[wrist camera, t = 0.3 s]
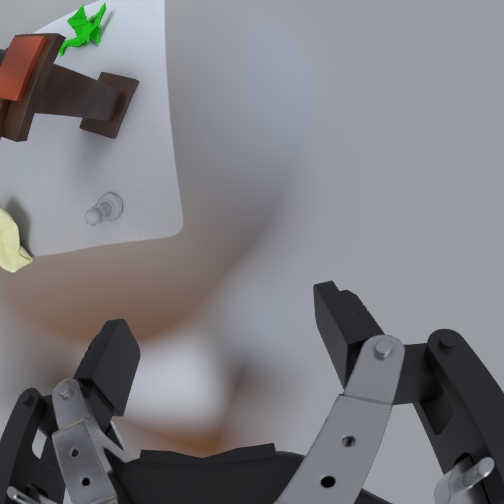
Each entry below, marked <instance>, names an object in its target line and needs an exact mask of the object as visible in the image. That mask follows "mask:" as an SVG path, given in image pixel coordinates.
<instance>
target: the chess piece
mask: <svg viewBox="0 0 504 504" xmlns="http://www.w3.org/2000/svg"><path fill="white" fill-rule="evenodd" d="M121 213H122V202H121V200H120V198H119V197H118V196H117V195H115V194H113V193H106V194H104V195H103V196H102V197H101V198H100V199H99V200H98V202H97V205H95V206H93V207H92V208H91V209H89V210H88V211H87V212H86V214H85V221H86V223H87V224H89V225H91V226H94V225H96V224H98V223H101V222H102V221H103V220H105V221H112V220H116V219H117V218H118V217H119V216H120V215H121Z"/></svg>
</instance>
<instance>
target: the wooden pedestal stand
mask: <svg viewBox="0 0 504 504" xmlns="http://www.w3.org/2000/svg"><path fill="white" fill-rule="evenodd" d="M30 36H44V37H47V38H48V39H47V41H46V43H45V45H44V47H43V49H42V51H41V53H40V55H39V58H38V60H37V62H36V64H35V67H34V69H33V71H32V74H31V76H30V79H29V81H28V84H27V87H26V89H25V92H24V95H23V98H22V101H13V100H11V102H10V105H9V108H8V112H7V115H6V119H5V123H4V126H3V130H2V135H1V137H4V138H7V139H10V140H13V141H16V142H20V141H27V137H28V133H29V130H30V126H31V123H32V119H33V116H34V113H40V114H53V115H64V116H73V117H82V118H83V119H82V122H81V125H80V127H79V128H80V129H83V130H87V131H90V132H93V133H97V134H100V135H103V136H106V137H110V138H116V136H117V133H118V131H119V128H120V125H121V123H122V120H123V118H124V115H125V113H126V110H127V108H128V105H129V103H130V101H131V98H132V96H133V94H134V92H135V89H136V87H137V85H138V83H139V81H138V80H136V79H132V78H128V77H124V76H119V75H115V74H110V73H105V72H101V74H100V77H99V79H98V81H97V80H95V79H92V78H90V77H87V76H85V75H82V74H80V73H77V72H75V71H72V70H69V69H67V68H64V67H61V66H59V65H56V64H53V63H54V61H55V59H56V57H57V55H58V53H59V51H60V49H61V47H62V45H63V43H64V41H65V39H66V37H64V36H62V35H60V34H58V33H43V34H23V35H15V37H30ZM15 37H14V38H15Z"/></svg>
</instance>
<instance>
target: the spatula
mask: <svg viewBox="0 0 504 504" xmlns="http://www.w3.org/2000/svg"><path fill="white" fill-rule="evenodd" d="M47 39H48V38H47V37H44V36H30V37H15V38H13V40H12V42H11V44H10V46H9V48H8V50H7V52H6V55H5V57H4V59H3V62H2V64H1V66H0V139H1V135H2V130H3V126H4V123H5V119H6V115H7V112H8V108H9V105H10V102H11V100H13V101H22V98H23V95H24V92H25V89H26V87H27V84H28V81H29V79H30V76H31V74H32V71H33V69H34V67H35V64H36V62H37V60H38V58H39V55H40V53H41V51H42V49H43V47H44V45H45V43H46V41H47Z"/></svg>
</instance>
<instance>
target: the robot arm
mask: <svg viewBox="0 0 504 504" xmlns="http://www.w3.org/2000/svg"><path fill="white" fill-rule="evenodd" d="M8 48H9V47H8ZM8 48H7V49H6V50H2V49H0V66H1V64H2V62H3V59H4V57H5V55H6V52H7V50H8ZM313 289H314V304H315V318H316V323H317V327H318V330H319V332H320V335H321V337H322V339H323V341H324V344H325V346H326V348H327V351H328V353H329V355H330V357H331V360H332V363H333V365H334V367H335V369H336V372H337V374H338V377H339V379H340V381H341V384H342V386H343V389H345V390H344V392H343V394H339V396H338V397H337V399H336V400H335V403H334V404H333V407H332V409H331V411H330V413H329V415H328V417H327V418H326V420H325V422H324V424H323V426H322V428H321V430H320V432H319V434H318V436H317V437H316V439H315V441H314V443H313V445H312V446H311V448H310V450H309V451H308V453H307V455H306V456H304V455H301V454H296V453H293V452H286V451H276V449H275V446H274V443H270V444H264V445H257V446H250V447H242V448H236V449H233V450H230V451H227V452H224V453H220V454H217V455H213V456H210V457H206V458H199V457H194V456H189V455H184V454H180V453H176V452H172V451H155V450H141V454H140V458H138V459H135V460H134V459H133V458H132V456H131V455H130V453H129V451H128V450H127V448H126V446H125V444H124V442H123V441H122V438H121V437H120V435H119V433H118V431H117V429H116V427H115V425H114V423H113V422H112V421H111V418H112V416H123V415H124V411H125V407H126V404H127V400H128V396H129V393H130V390H131V386H132V383H133V380H134V376H135V373H136V370H137V366H138V363H139V360H140V349H139V346H138V344H137V342H136V340H135V338H134V336H133V334H132V332H131V331H130V329H129V327H128V325H127V323H126V321H125V320H124V319H116V320H108V321H106V323H105V325H104V326H103V328H102V330H101V332H100V333H99V334H98V335H97V336H96V337H95V338H94V339H93V340H92V342H91V343H90V345H89V347H88V350H87V352H86V353H85V357H83V359H82V361H81V363H80V365H79V367H78V369H77V371H76V373H75V375H74V377H73V379H66V380H64V381H62V382H61V383H59V384H58V385H57V386H56V387H55V389H54V391H53V394H52V395H47V396H42V395H41V394H40V393H39V392H38V390H37V389H35V388H29V389H27V390H25V391H24V392H23V393H22V394H21V395H20V397H19V398H18V400H17V402H16V404H15V407H14V409H13V411H12V413H11V416H10V418H9V420H8V422H7V425H6V427H5V430H4V432H3V435H2V437H1V440H0V504H63V499H64V493H65V488H67V490H68V493H69V496H70V498H71V501H72V503H73V504H392V503H390V502H388V501H386V500H384V499H382V498H379V497H378V496H376V495H374V494H372V493H370V492H368V491H366V490H364V489H363V488H362V486H363V484H364V482H365V480H366V478H367V475H368V473H369V471H370V468H371V466H372V464H373V462H374V459H375V457H376V454H377V451H378V449H379V446H380V444H381V441H382V438H383V435H384V432H385V429H386V426H387V423H388V420H389V417H390V414H391V410H392V406H393V405H398V404H408V403H413V405H414V407H415V409H416V412H417V413H418V416H419V418H420V420H421V422H422V424H423V427H424V429H425V431H426V433H427V436H428V438H429V440H430V442H431V445H432V447H433V449H434V452H435V454H436V457H437V459H438V462H439V464H440V467H441V469H442V472H443V474H444V476H442V478H441V479H440V480H439V481H438V483H437V485H436V488H435V492H434V496H435V504H504V393H503V391H502V390H501V388H500V387H499V385H498V384H497V382H496V381H495V380H494V378H493V377H492V375H491V374H490V373H489V371H488V370H487V368H486V367H485V366H484V364H483V363H482V362H481V360H480V359H479V358H478V356H477V355H476V354H475V352H474V351H473V350H472V349H471V347H470V346H469V345H468V344H467V342H466V341H465V340H464V338H463V337H462V336H461V335H460V334H459V333H457V332H455V331H453V330H449V329H439V330H436V331H434V332H433V333H432V334H431V335H430V336H429V338H428V341H427V343H422V344H412V345H403V344H402V342H401V341H400V340H399V339H397V338H395V337H393V336H390V335H385V334H384V332H383V331H382V330H381V328H380V327H379V325H378V324H377V323H376V321H375V320H374V318H373V317H372V315H371V314H370V313H369V311H367V309H366V307H365V306H364V305H363V303H362V302H361V300H360V299H359V298H358V296H357V295H356V294H354V293H352V292H350V291H348V290H343V291H339V290H338V288H337V287H336V285H335V284H334V282H333V281H328V282H324V283H319V284H315V285H314V287H313ZM37 429H39V430H40V431H41V432H42V433H43V434H44V435H45V436H46V437H47V439H46V442H45V445H44V448H43V451H42V455H41V458H40V459H39V458H38V457H36V456H35V455H34V453H33V451H32V444H33V441H34V438H35V435H36V432H37Z"/></svg>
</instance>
